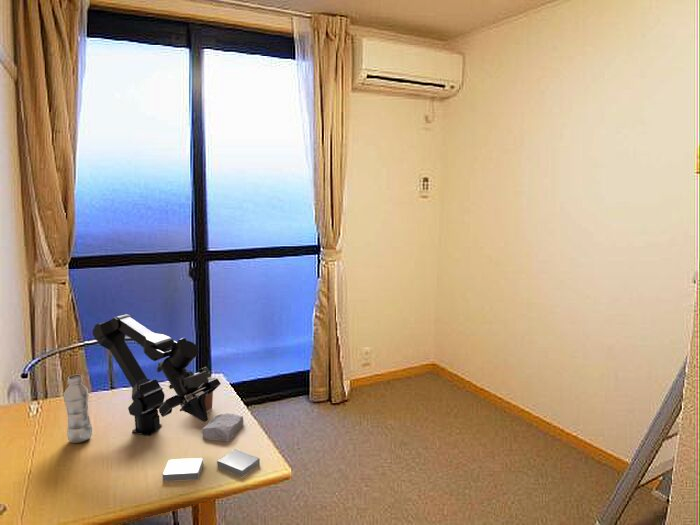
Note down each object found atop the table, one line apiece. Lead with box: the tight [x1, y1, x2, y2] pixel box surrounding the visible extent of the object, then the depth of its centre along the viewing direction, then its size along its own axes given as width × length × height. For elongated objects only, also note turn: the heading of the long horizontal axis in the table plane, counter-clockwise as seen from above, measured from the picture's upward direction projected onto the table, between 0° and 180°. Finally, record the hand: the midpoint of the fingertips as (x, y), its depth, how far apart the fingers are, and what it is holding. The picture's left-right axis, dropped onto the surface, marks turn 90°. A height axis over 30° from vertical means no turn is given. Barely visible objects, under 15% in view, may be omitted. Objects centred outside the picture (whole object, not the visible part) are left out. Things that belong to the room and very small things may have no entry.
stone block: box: [201, 412, 244, 442], centre depth 157 cm, size 12×5×10 cm
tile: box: [216, 448, 261, 478], centre depth 138 cm, size 2×7×9 cm
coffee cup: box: [193, 372, 215, 413], centre depth 170 cm, size 9×9×12 cm
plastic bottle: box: [62, 374, 93, 444], centre depth 148 cm, size 6×7×20 cm
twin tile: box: [162, 457, 204, 482], centre depth 134 cm, size 9×7×2 cm
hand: (206, 421), depth 142 cm, fingers closed
